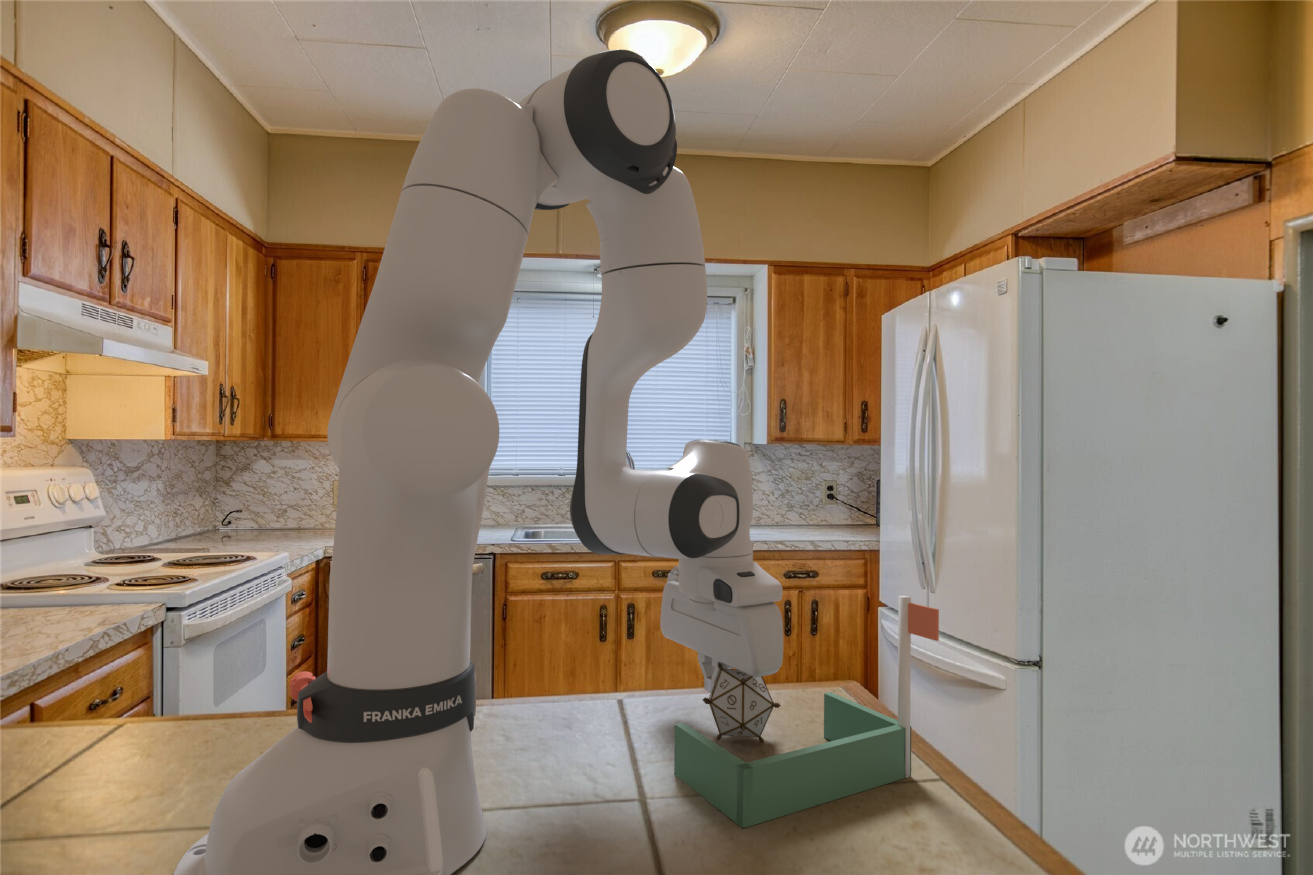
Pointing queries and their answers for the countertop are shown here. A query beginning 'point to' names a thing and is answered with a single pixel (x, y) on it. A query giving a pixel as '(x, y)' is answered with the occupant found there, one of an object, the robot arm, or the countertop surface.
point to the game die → (740, 704)
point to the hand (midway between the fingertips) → (715, 692)
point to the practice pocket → (813, 749)
